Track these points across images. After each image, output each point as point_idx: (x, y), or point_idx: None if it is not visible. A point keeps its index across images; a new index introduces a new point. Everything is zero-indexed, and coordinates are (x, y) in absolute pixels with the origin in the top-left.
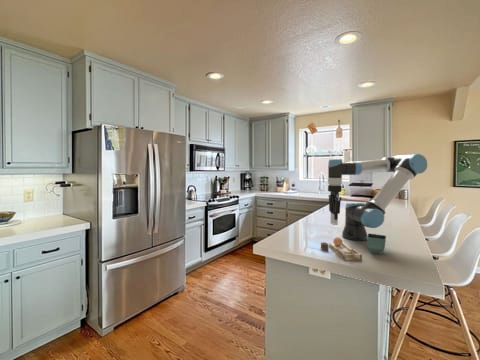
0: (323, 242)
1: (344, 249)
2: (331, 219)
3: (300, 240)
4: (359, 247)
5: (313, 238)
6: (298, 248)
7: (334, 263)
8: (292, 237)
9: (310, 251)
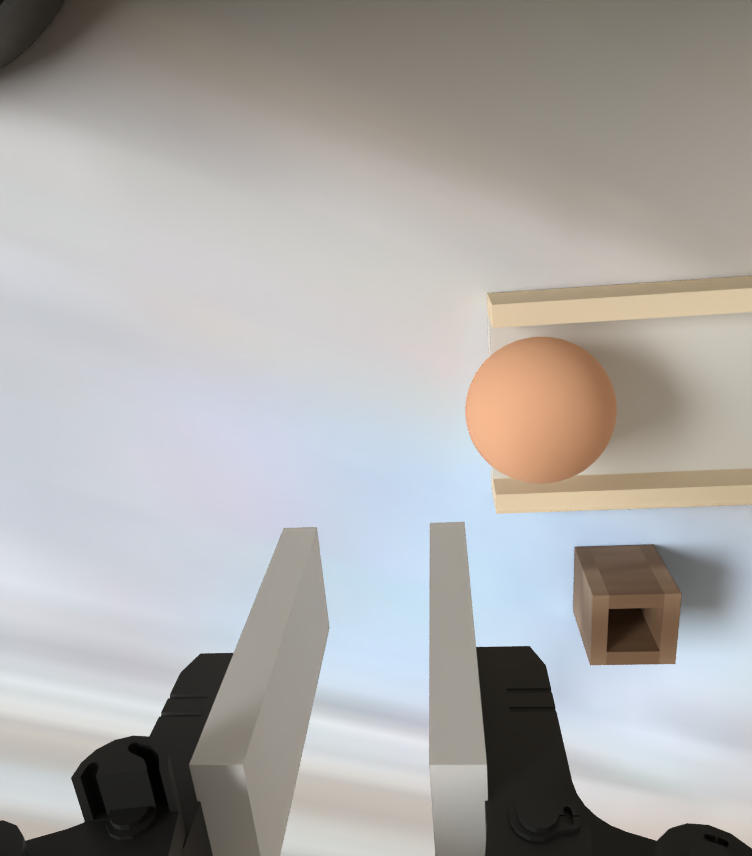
0: (594, 634)
1: (700, 346)
2: (312, 698)
3: None
4: (530, 7)
5: (123, 582)
6: None
7: None
8: None
9: (675, 738)
